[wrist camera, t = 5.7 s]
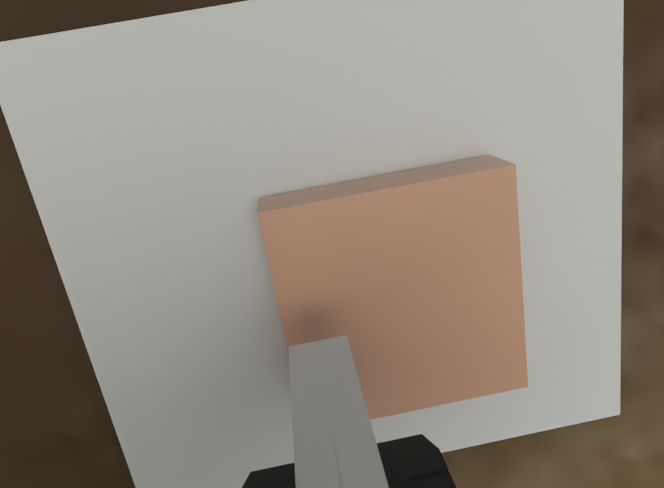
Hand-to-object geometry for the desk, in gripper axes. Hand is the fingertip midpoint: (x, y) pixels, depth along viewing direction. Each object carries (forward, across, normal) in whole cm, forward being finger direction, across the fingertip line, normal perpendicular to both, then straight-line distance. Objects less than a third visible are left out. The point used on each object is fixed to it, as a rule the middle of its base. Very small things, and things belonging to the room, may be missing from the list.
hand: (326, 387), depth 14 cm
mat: (+7, +2, +1) cm, 7 cm away
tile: (+5, -1, 0) cm, 5 cm away
